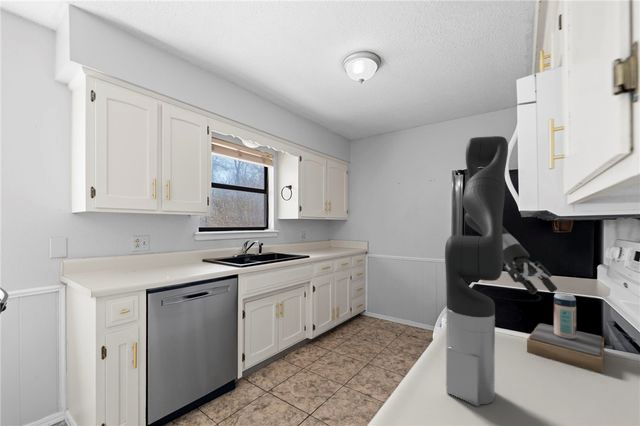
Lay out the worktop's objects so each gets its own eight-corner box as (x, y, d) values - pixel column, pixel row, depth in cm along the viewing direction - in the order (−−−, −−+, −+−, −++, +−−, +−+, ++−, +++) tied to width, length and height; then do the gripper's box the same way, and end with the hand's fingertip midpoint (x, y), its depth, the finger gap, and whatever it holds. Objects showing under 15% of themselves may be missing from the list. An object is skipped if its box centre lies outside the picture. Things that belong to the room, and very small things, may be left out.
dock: (602, 373, 69) (602, 356, 69) (526, 351, 80) (526, 337, 80) (604, 350, 82) (603, 336, 82) (538, 334, 92) (538, 322, 92)
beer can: (567, 333, 83) (567, 292, 83) (580, 340, 78) (580, 297, 79) (549, 333, 84) (549, 292, 84) (562, 339, 79) (561, 296, 79)
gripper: (500, 243, 93) (537, 286, 82) (531, 242, 97) (570, 283, 86) (486, 257, 98) (519, 300, 87) (516, 256, 102) (551, 296, 91)
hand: (544, 291), depth 86 cm, fingers open, 8 cm apart
